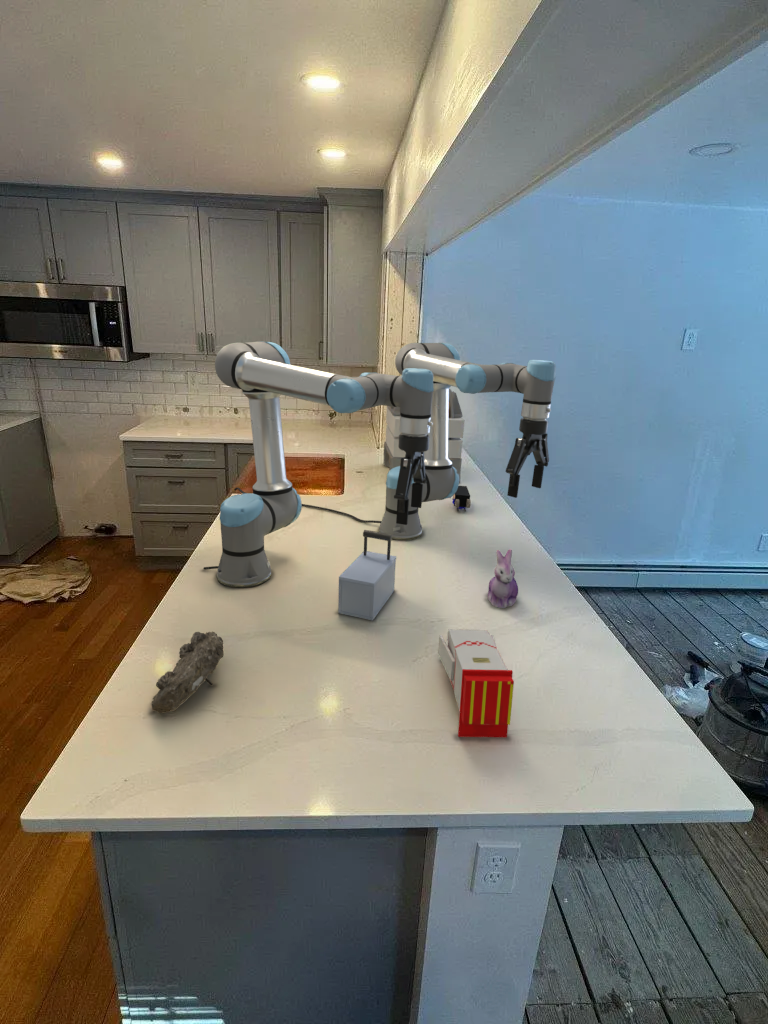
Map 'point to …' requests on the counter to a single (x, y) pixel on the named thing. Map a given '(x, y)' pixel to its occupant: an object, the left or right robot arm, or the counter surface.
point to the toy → (478, 682)
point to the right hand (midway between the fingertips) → (524, 491)
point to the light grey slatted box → (454, 434)
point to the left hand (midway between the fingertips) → (409, 515)
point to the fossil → (188, 671)
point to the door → (370, 562)
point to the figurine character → (461, 498)
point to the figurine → (503, 582)
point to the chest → (366, 596)
